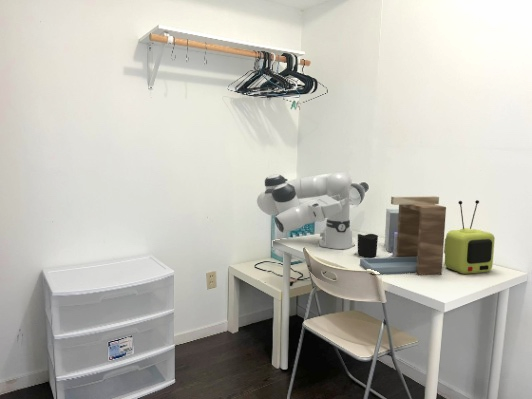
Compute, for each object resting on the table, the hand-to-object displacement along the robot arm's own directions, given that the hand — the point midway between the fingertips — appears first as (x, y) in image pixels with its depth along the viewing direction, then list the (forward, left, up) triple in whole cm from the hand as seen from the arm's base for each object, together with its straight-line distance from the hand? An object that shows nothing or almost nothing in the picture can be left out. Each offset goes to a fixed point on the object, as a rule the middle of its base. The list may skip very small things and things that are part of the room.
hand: (344, 197), depth 166 cm
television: (+3, +54, -31) cm, 62 cm away
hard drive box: (-33, +39, -31) cm, 60 cm away
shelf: (0, +34, -31) cm, 46 cm away
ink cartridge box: (-15, +35, -31) cm, 49 cm away
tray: (0, +24, -31) cm, 39 cm away
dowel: (0, +31, -3) cm, 31 cm away
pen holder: (-22, +20, -31) cm, 43 cm away
